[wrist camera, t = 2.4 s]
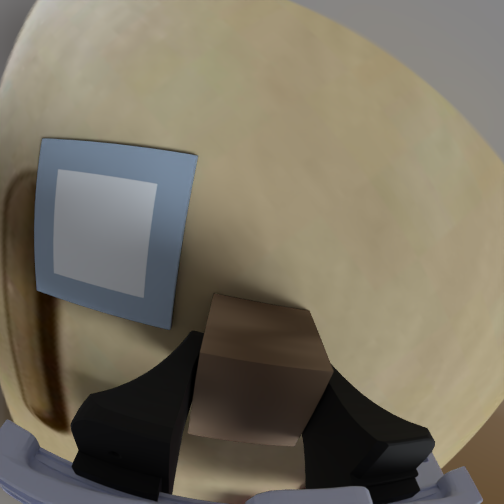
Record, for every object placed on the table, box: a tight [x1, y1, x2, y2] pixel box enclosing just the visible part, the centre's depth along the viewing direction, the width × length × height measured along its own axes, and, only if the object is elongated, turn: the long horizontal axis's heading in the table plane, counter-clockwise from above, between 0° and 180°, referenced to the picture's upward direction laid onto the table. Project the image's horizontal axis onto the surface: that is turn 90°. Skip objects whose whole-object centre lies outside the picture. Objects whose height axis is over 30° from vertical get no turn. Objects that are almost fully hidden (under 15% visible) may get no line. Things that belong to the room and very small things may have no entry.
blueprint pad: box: [34, 138, 198, 330], centre depth 12 cm, size 8×8×1 cm
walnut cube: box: [188, 293, 334, 446], centre depth 12 cm, size 4×4×4 cm
